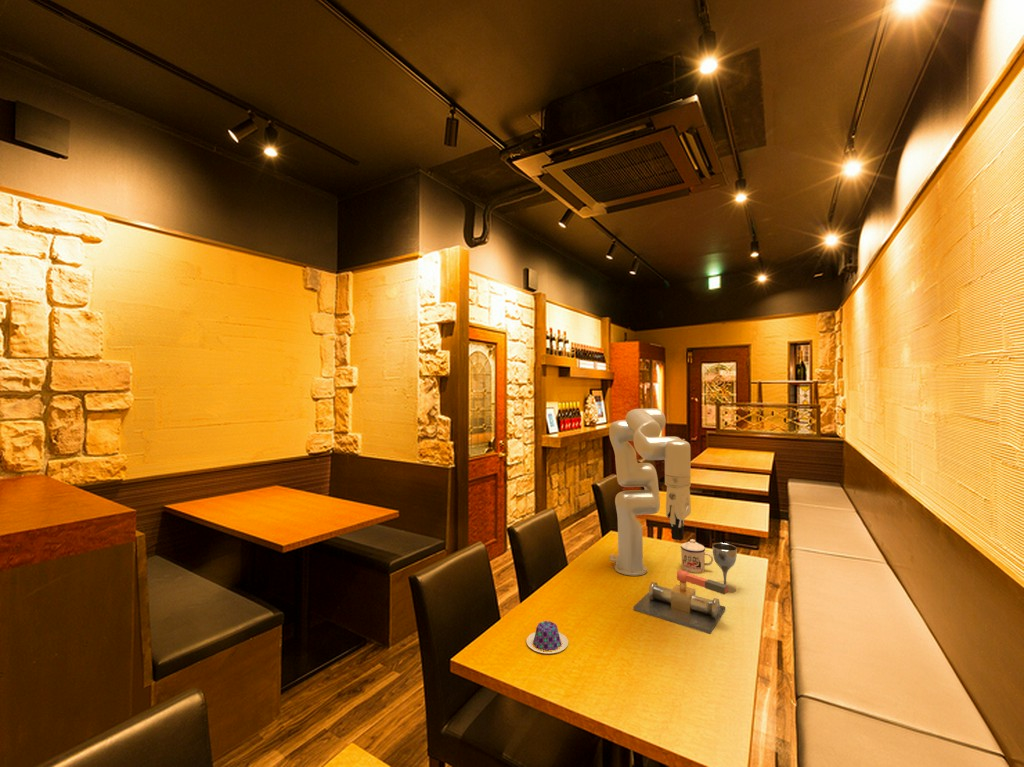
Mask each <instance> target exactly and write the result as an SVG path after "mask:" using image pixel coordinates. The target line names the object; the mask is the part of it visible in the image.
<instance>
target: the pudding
mask: <svg viewBox="0 0 1024 767" xmlns="http://www.w3.org/2000/svg"><path fill="white" fill-rule="evenodd" d="M560 639H561V640H560ZM562 643H563V644H562ZM532 644H533V645H534V646H535V647H536V648H538V649H539V650H538V649H536V648H535V647H533V645H532ZM526 645H527V646H528V647H529V648H530V649H531V650H532V651H535V652H537V653H541V654H557V653H560V652H562V651H563V650H565V649H566V648H567V647H568V645H569V639H568V638H567V636H566V635H564V634H563V633H561V632H559V629H558V626H557V624H556V623H554V622H553V621H550V620H548V621H547V620H544V621H542V622H539V623H538V624H537V626H536V628H535V632H532V633H530V634H529V635H528V637H527V638H526ZM561 646H562V647H561ZM559 648H560V649H559ZM542 649H543V650H542ZM557 649H558V650H557ZM540 650H542V651H540ZM544 650H545V651H549V650H550V651H552V652H543V651H544ZM554 650H556V651H554Z"/></svg>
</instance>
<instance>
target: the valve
mask: <svg viewBox="0 0 1024 767" xmlns="http://www.w3.org/2000/svg"><path fill="white" fill-rule="evenodd" d="M632 608H633V611H635V612H639V613H642V614H646V615H649V616H652V617H655V618H659V619H661V620H665V621H668V622H671V623H675V624H677V625H680V626H684V627H688V628H690V629H694V630H696V631H700V632H703V633H706V634H712V632H713V630H714V629H715V627H716V626H717V624H718V622H719V621H720V619H721V618H722V617H723V615H724V613H725V612H726V606H724V605H721V604H720V599H719V598H716V597H714V598H712V599H709V598H706V597H702V596H698V595H696V588H694V587H693V588H692V587H689V586H687V582H681V581H679V584H676V585H675V586H674V587H673V588H668V587H665V586H662V585H661V586H659V585H658V583H657V582H655V581H651V583H650V585H649V589H648V592H647V593H646V594H645V595H644V596H643V597H642V598H641V599H640V600H639V601H637V603H635V604H634V606H633V607H632Z"/></svg>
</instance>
